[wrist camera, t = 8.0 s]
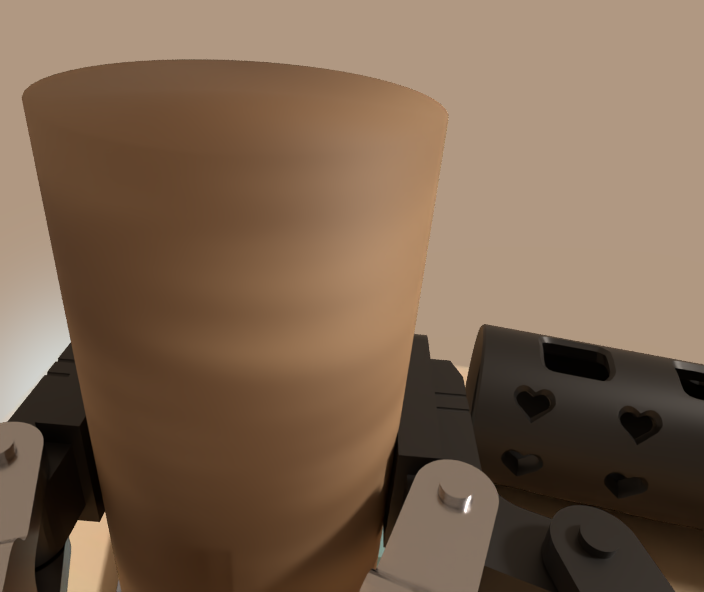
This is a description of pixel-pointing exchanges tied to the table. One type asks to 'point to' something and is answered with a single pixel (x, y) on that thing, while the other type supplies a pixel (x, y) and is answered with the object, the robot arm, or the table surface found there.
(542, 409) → the muzzle brake
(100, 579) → the table surface
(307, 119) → the walnut peg
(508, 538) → the robot arm
